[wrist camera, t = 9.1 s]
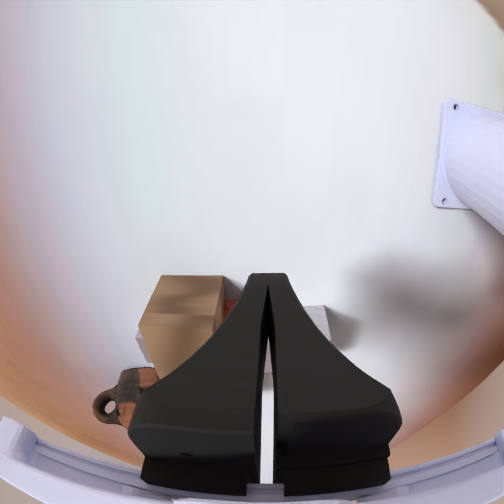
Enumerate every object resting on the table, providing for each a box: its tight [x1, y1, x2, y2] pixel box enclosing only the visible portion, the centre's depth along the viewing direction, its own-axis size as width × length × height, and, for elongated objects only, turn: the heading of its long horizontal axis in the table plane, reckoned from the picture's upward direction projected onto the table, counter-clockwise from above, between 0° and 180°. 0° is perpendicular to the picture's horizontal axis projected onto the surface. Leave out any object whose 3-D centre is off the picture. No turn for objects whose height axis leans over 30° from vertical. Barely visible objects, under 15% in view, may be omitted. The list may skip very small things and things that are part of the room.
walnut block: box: [138, 276, 226, 379], centre depth 24 cm, size 5×12×6 cm, turn 2°
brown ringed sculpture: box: [92, 368, 158, 439], centre depth 31 cm, size 12×10×8 cm
